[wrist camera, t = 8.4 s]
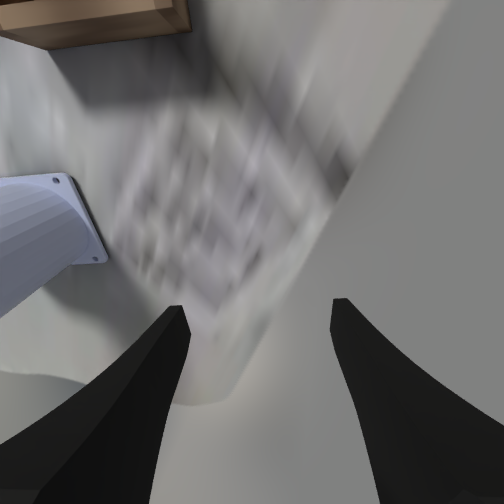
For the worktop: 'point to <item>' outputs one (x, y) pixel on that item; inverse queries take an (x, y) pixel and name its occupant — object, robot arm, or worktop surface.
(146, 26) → the big crate
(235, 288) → the worktop surface
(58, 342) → the worktop surface
